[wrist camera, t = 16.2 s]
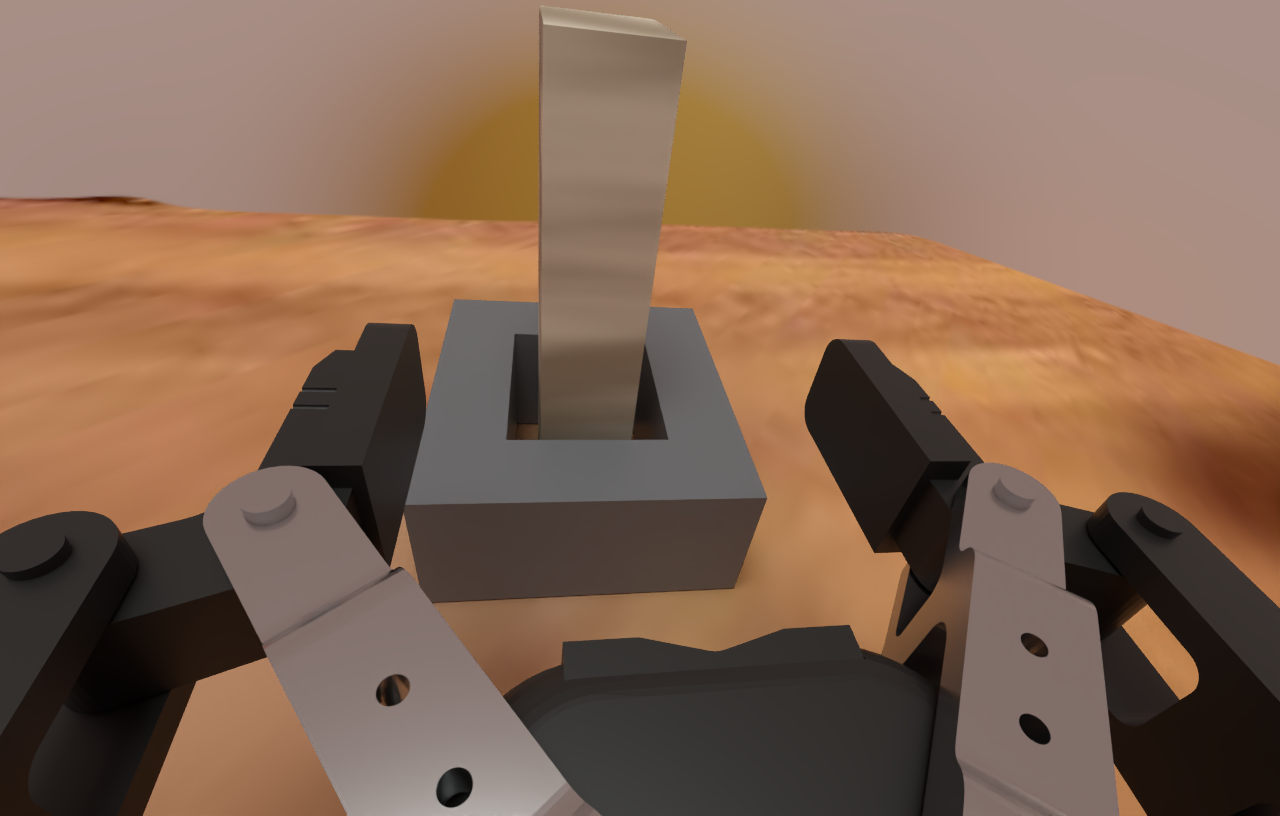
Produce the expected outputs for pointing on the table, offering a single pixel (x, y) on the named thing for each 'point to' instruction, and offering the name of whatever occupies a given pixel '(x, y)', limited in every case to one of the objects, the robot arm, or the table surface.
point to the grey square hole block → (576, 473)
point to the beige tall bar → (599, 211)
